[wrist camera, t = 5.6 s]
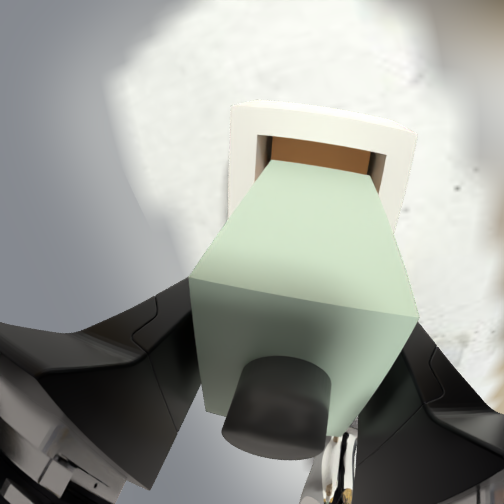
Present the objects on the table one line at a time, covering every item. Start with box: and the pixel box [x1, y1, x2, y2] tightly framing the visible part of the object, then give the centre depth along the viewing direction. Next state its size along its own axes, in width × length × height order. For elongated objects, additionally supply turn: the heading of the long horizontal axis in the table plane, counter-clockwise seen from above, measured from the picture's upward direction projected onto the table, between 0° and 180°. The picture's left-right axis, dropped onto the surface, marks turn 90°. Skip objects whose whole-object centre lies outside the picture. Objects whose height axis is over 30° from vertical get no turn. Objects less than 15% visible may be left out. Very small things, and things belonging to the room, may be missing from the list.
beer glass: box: [299, 427, 358, 504], centre depth 27 cm, size 7×7×15 cm
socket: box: [228, 100, 418, 234], centre depth 15 cm, size 9×8×5 cm
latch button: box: [271, 136, 371, 175], centre depth 15 cm, size 6×5×1 cm
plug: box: [188, 160, 420, 460], centre depth 9 cm, size 5×4×10 cm
